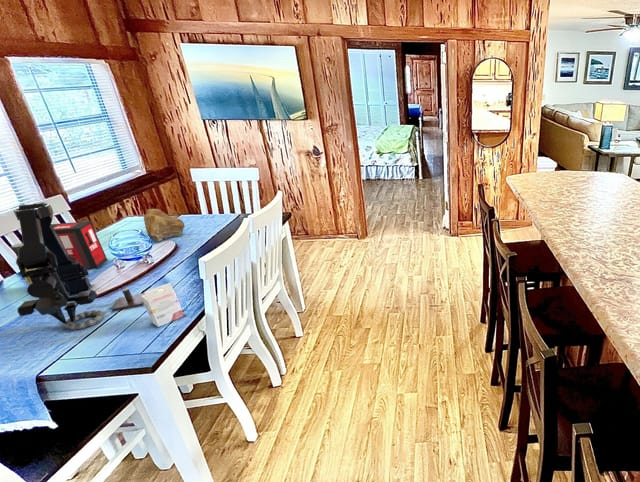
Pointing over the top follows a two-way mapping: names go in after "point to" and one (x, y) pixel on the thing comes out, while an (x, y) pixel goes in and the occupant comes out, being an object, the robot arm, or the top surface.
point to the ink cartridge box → (162, 305)
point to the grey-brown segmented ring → (94, 321)
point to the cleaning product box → (81, 243)
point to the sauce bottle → (16, 248)
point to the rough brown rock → (162, 225)
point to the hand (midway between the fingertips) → (69, 322)
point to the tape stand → (128, 300)
